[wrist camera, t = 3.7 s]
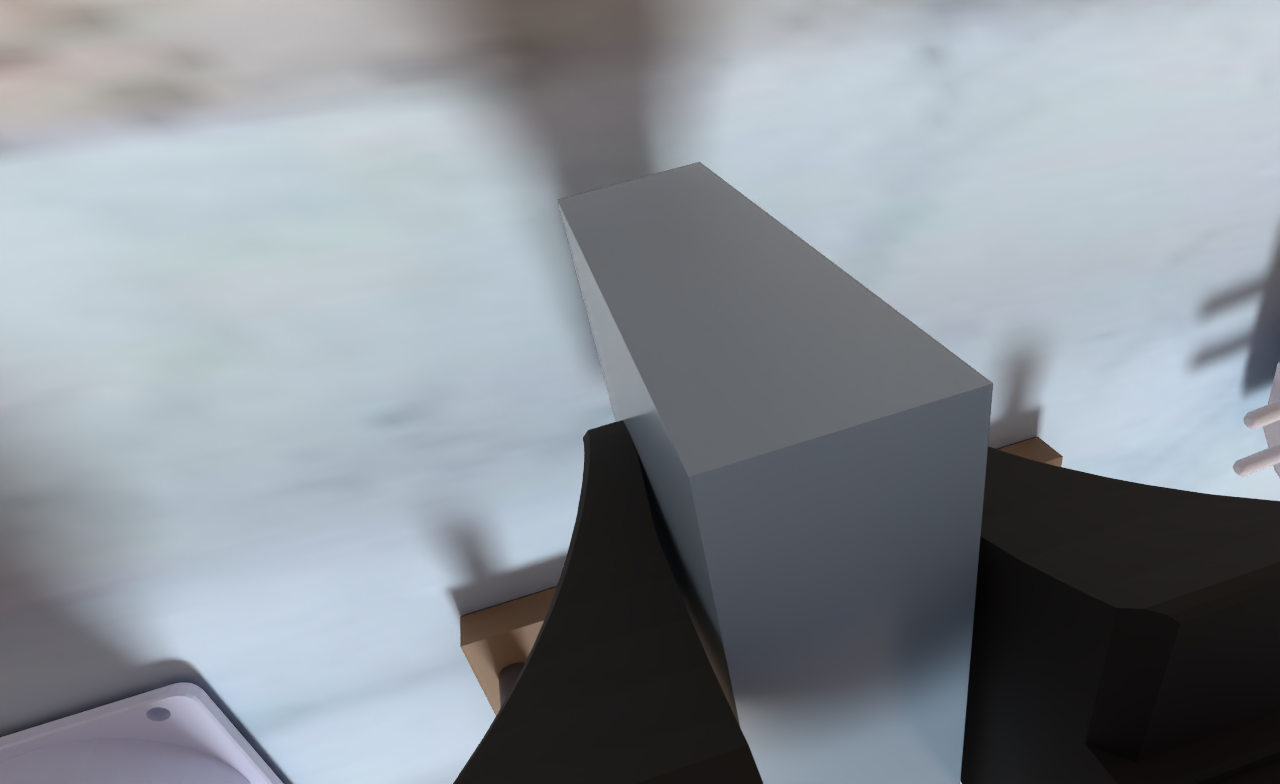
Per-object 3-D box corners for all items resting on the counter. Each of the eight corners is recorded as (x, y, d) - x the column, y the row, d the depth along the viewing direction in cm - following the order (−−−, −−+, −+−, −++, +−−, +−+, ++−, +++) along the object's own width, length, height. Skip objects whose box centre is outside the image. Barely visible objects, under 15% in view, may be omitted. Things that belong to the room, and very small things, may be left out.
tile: (650, 552, 16) (784, 940, 9) (557, 199, 11) (688, 476, 5) (753, 519, 16) (952, 877, 10) (699, 161, 12) (994, 383, 5)
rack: (583, 864, 27) (604, 1012, 23) (460, 616, 19) (461, 775, 15) (1001, 719, 28) (1086, 835, 24) (1037, 436, 21) (1169, 541, 17)
